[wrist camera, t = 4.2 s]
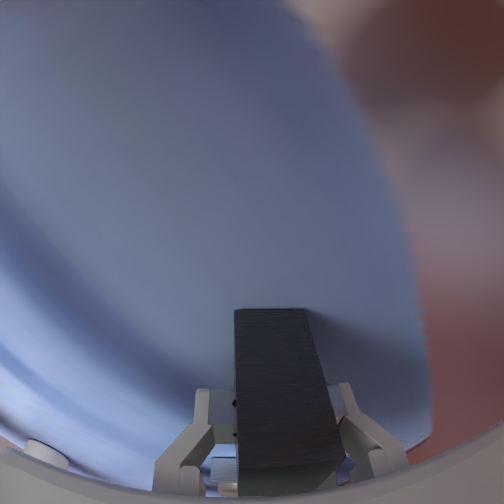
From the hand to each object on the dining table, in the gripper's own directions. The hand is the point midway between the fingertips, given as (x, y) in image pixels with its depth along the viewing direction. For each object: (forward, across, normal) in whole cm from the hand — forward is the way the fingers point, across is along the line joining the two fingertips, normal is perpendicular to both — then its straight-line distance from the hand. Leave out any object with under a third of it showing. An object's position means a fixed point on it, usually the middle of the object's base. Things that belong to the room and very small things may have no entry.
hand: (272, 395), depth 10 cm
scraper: (+3, 0, +7) cm, 8 cm away
